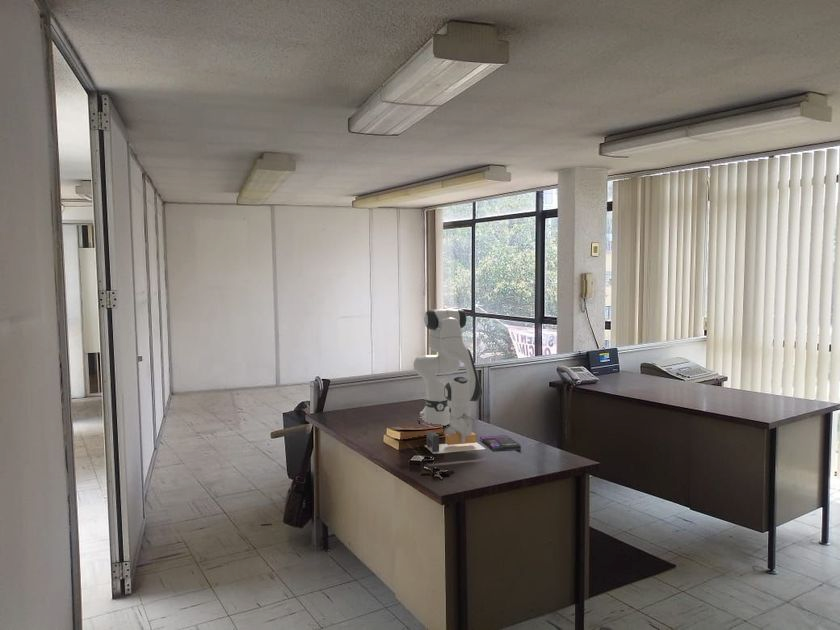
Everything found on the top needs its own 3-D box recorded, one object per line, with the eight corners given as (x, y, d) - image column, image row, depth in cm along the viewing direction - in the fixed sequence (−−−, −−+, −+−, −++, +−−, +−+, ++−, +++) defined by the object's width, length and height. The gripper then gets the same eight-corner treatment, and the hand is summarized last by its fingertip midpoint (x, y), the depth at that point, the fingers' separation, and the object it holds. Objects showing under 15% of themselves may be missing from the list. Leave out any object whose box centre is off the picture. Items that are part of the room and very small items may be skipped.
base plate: (424, 447, 294) (424, 445, 294) (474, 443, 302) (474, 441, 302) (433, 455, 281) (433, 453, 281) (486, 451, 288) (486, 448, 288)
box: (479, 444, 304) (493, 454, 285) (479, 436, 304) (492, 446, 285) (506, 441, 307) (521, 451, 288) (506, 434, 307) (521, 444, 288)
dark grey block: (426, 446, 292) (426, 431, 292) (432, 445, 293) (432, 430, 292) (432, 451, 283) (432, 436, 283) (439, 451, 284) (439, 435, 283)
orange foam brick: (445, 442, 292) (445, 434, 292) (472, 440, 296) (472, 432, 296) (448, 445, 288) (448, 436, 288) (475, 442, 293) (475, 434, 292)
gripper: (475, 416, 282) (475, 445, 283) (459, 406, 302) (459, 434, 303) (462, 417, 280) (462, 447, 281) (447, 407, 300) (447, 435, 301)
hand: (460, 440), depth 292 cm, fingers closed on orange foam brick, 4 cm apart
